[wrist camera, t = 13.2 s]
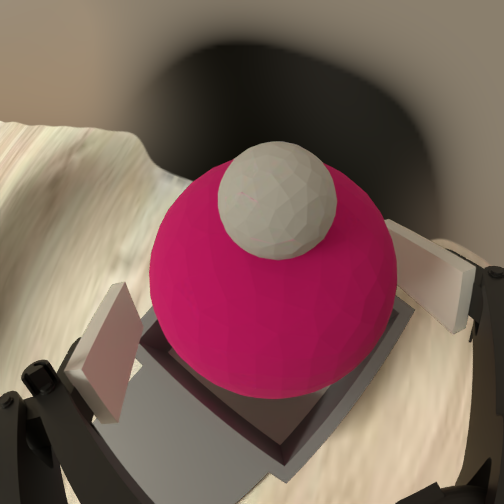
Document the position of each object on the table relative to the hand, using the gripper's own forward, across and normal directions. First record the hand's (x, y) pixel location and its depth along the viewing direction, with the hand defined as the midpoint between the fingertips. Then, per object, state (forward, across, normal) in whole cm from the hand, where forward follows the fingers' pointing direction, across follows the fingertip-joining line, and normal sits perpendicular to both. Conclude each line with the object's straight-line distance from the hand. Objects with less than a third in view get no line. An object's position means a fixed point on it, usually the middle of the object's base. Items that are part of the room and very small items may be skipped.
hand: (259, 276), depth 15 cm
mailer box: (+2, -5, -11) cm, 12 cm away
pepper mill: (+5, 0, -8) cm, 9 cm away
